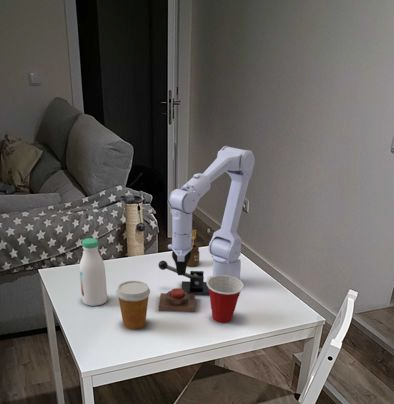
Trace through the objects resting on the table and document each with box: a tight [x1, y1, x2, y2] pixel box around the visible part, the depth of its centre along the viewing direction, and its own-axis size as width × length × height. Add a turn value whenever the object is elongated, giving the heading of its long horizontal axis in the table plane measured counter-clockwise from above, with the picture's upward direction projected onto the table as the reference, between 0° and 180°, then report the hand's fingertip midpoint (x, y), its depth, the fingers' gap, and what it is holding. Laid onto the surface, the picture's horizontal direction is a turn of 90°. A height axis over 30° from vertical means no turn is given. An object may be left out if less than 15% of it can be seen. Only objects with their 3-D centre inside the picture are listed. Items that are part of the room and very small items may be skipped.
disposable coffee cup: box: [115, 280, 151, 331], centre depth 140 cm, size 10×10×12 cm
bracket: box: [180, 270, 210, 297], centre depth 163 cm, size 10×8×6 cm
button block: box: [158, 290, 196, 313], centre depth 154 cm, size 11×9×4 cm
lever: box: [157, 260, 200, 279], centre depth 161 cm, size 15×3×3 cm, turn 90°
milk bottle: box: [79, 237, 108, 307], centre depth 150 cm, size 8×8×20 cm
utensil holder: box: [187, 229, 200, 267], centre depth 180 cm, size 6×6×12 cm
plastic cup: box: [206, 275, 245, 324], centre depth 145 cm, size 11×11×12 cm
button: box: [170, 287, 184, 298], centre depth 153 cm, size 4×4×2 cm
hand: (181, 274), depth 150 cm, fingers closed
